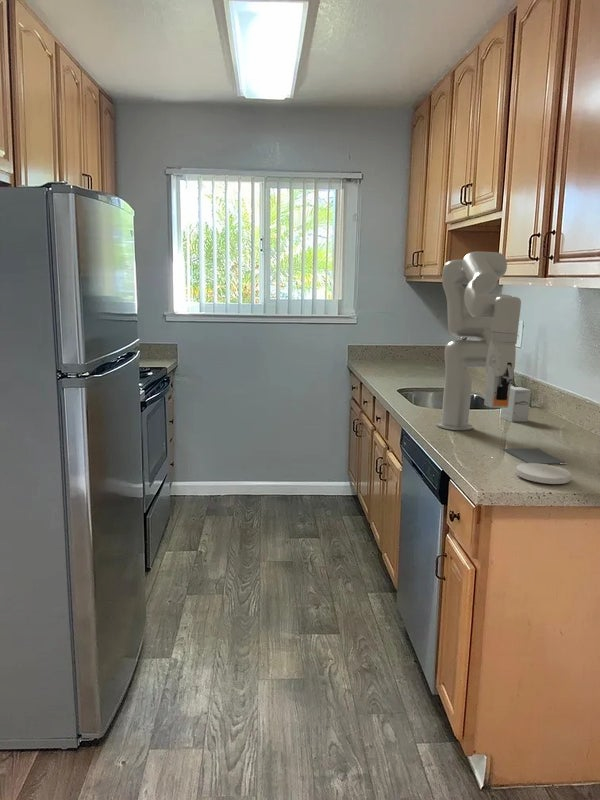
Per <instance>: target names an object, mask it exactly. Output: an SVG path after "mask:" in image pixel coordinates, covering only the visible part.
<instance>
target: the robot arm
mask: <svg viewBox="0 0 600 800" xmlns="http://www.w3.org/2000/svg"><path fill="white" fill-rule="evenodd" d="M507 268H508V261H507V259H506V257H505V256H504V254H503V253H501V252H495V251H472V252H468V253H467V254H466V255H465V256H464V257H463V259H452V260H449V261H447V262H445V263H444V265H443V268H442V272H441V280H442V289H443V291H444V294H445V296H446V303H447V307H446V309H447V329H448V332H449V334H450V335H451V336H452V337H457V338H469V339H454V340H451V341H449V342H447V343H446V345H445V347H444V365H445V366H444V367H445V368H444V369H445V373H444V386H443V397H442V398H443V399H442V410H441V420H438V421H436V426H437V427H439V428H441V429H445V430H451V431H469V430H470V431H471V430H472V429H473V424H472V423H469V418H470V408H471V398H472V397H471V396H472V386H473V385H472V384H473V380H472V377H471V374H470V372H469V371H468V370H467V368H485V369H484V371H485V372H486V374H488V368H489V367H491V368H492V369H493V375H495V376H496V377H499V387H497V396H496V399H497V400H507V394H508V387H509V384H510V382H511V383H512V381H513V380H514V374H515V367H516V355H517V354H516V353H517V352H516V350H517V349H516V345H517V343H518V334H519V333H518V332H519V325H520V315H521V308H522V300H521V299H520V298H519V297H518V296H512V295H509V294H498V293H496V294H494V293H490V292H492V291H493V290H494V289H496V287H497V284H498V283H499V282H498V280H500V279H501V278H503V277H504V275H505V274H506V272H507ZM463 285H466V288H465V287H464V286H463ZM470 338H472V339H474V338H475V339H477V340H470ZM504 374H506V376H503V375H504ZM502 379H504V380H503V382H502Z"/></svg>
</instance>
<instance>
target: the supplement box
mask: <svg viewBox="0 0 600 800" xmlns="http://www.w3.org/2000/svg"><path fill="white" fill-rule="evenodd" d="M531 393H532V390H531V389H530V388H529V389H528V388H525V387H520V386H511V388H510V396H509V404H508V408H501V414H500V418H501V419H503V420H506V421H508V422H510V423H515V422H524V423H525V422H528V418H529V410H530V409H529V408H530V404H531V403H530V402H531V401H530V400H531Z"/></svg>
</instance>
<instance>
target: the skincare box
mask: <svg viewBox="0 0 600 800" xmlns="http://www.w3.org/2000/svg"><path fill="white" fill-rule="evenodd" d="M503 376H506V374H504V375H503ZM503 380H504V379H502V382H503ZM497 387H499V377H496V376H495V375H493V369H492V368H491V367H489V368H488V373H487V379H486V388H485V395H484V402H483V405H484V406H486V407H488V408H490V409H493V408H500V409H502V408H508V404H509V396H510V388H511V387H512V381H511V382H510V384H509V387H508V394H507V400H497V399H496V396H497Z"/></svg>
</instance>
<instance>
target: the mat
mask: <svg viewBox="0 0 600 800" xmlns="http://www.w3.org/2000/svg"><path fill="white" fill-rule="evenodd" d="M502 450H503V451H504V452H506V453H507V454H509V455H512V456H513V457H515V458H516V459H518V460H520V461H521V462H523V461H524V462H523V463H525V462H526V463H539V464H556V465H561V464H560V463H567V462H566V461H564V460H562V459H560V458H558V457H555V456H554V455H552V454H550V453H548V452H546V451H544V450H542V449H540V448H537V447H536V448H531V447H530V448H519V447H518V448H502Z"/></svg>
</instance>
